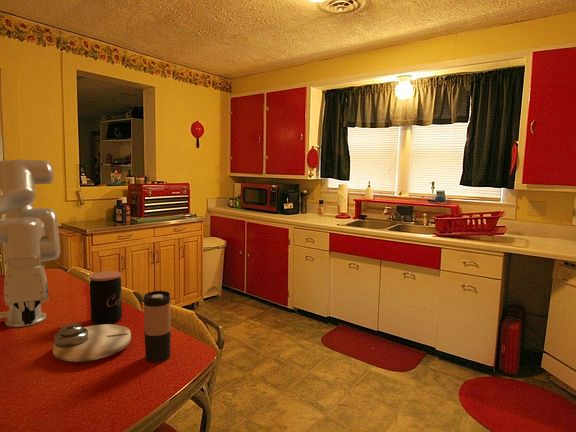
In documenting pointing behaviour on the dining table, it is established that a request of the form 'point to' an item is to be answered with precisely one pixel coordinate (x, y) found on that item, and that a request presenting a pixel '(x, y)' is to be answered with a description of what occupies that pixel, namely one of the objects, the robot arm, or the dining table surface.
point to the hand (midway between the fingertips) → (28, 322)
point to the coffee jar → (105, 297)
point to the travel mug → (157, 326)
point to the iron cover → (71, 336)
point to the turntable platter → (96, 344)
